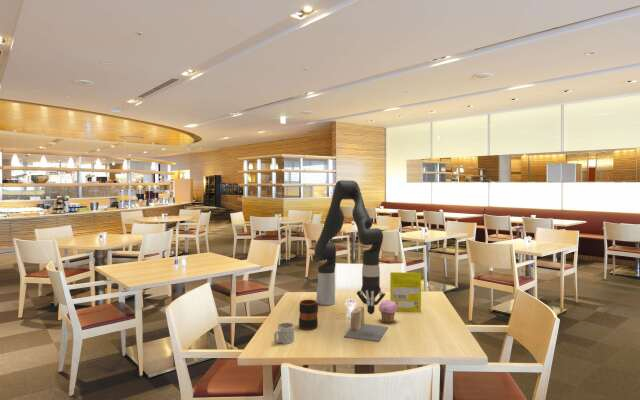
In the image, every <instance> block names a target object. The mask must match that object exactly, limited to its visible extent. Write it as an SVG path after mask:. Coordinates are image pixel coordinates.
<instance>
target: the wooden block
mask: <svg viewBox="0 0 640 400" xmlns="http://www.w3.org/2000/svg"><path fill="white" fill-rule="evenodd" d="M363 324H365V306H362V305H361V306H360V305H358V306H356V307H355V308H354V309H353V310H352V311H351V312H350V329H351V330H355V331H358V330H359V329H360V328H361V327H362V326H363Z"/></svg>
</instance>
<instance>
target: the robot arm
mask: <svg viewBox="0 0 640 400" xmlns="http://www.w3.org/2000/svg"><path fill="white" fill-rule="evenodd" d="M363 199H364V198H363V196H362V191H361V189H360V186H359V184H358V182H357V181H356V180H348V179H347V180H346V179H345V180H338V181H336V183H335V185H334V189H333V194H332V197H331V202H330V205H329V209H328V212H327V215H326V218H325V221H324V223H323V227H322V230H321V232H320V236H319V238H318V239H317V241H316V244H315V247H314V254H313V255H314V257H315V259H317V260H318V261H323V260H324V261H325V262H324V263H322V264H320V265H319V266H318V267H317V285H316V302H317V303H318V305H321V306H331V305H334V304H335V303H336V271H335V270H336V266H337V265H336V264H337V263H336V260H337V259H336V258H337V247H336V244H335V243H334V242H332V241H331V240H333V238H335V237H336V236H337V235H338V234H339V233H340V232H341V230H342V228H343V225H344V223H345V215H344V213H343V210H342V208H341V202H342V200H353V202H354V206H353V209H352V212H351V213H352V214H351V215H352V219H353V222H354V223H355V225H356V228H357V233H358V234H357V235H358V236H357V237H358V241H359V243H360V244H361V245H363V246H371V247H370V248H369V249H365V250H364V251H363V252H362V268H361V269H362V270H361V274H362V277H361V278H362V279H361V281H362V282H361V283H362V284H361V287H360V288H361V289H360V290H358V291H356V295H357V296H358V298H359V299H360V301H362V303H363V305H364V304H365V305H366V307H367V308H366V309H367V310H366V311H367V313H368V314H369V315H374V313H375V310H376V309H375V306H377V305H379V303H380V302H382V301H383V298H384V297H386V293H385V292H383V291H382V290H381V287H380V284H381V283H380V282H381V281H380V280H381V279H380V278H381V277H380V276H381V275H380V274H381V272H380V252H381V248H382V245H383V241H384V235H383V234H384V233H383V232H382V230H381V229H380V228H379V227H378V228H377V227H375V228H372V226H373V222H372V219H371V217H370V215H369V213H368V211H367V209H366V206H365V202H364V200H363ZM378 296H379V297H378ZM377 297H378V299H376V298H377Z"/></svg>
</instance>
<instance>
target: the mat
mask: <svg viewBox="0 0 640 400" xmlns="http://www.w3.org/2000/svg"><path fill="white" fill-rule="evenodd" d="M388 329H389V326H384V325H378V324H377V325H376V324H369V323H368V324H367V323H364V324H363V326H362V327H361V328H360V329H359V330H358V331H355V330H351V328H350V329H349V330H348V331H347V332H346V333H345V334H344V335H343V337H344V338H347V339H354V340H362V341H370V342H377V343H379V342H380V341H381V340H382V337H383V336H384V335H385V334H386V332H387V330H388Z"/></svg>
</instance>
